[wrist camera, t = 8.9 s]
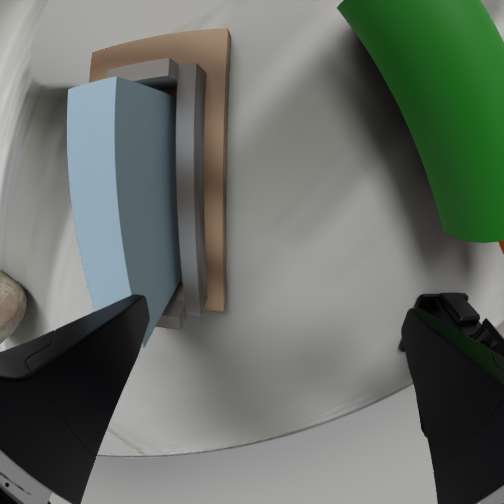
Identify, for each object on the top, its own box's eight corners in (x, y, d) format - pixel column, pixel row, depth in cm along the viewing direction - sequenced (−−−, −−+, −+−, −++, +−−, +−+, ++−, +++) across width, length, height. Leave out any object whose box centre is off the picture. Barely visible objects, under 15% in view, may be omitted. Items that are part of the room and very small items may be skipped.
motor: (319, 27, 13) (430, 263, 20) (381, -42, 4) (502, 317, 11) (412, 4, 12) (494, 207, 18) (481, -30, 3) (561, 236, 10)
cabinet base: (226, 300, 22) (215, 346, 17) (117, 290, 22) (87, 326, 17) (231, 36, 14) (217, 2, 9) (102, 56, 14) (59, 42, 9)
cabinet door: (184, 273, 20) (144, 348, 12) (144, 270, 20) (92, 337, 12) (180, 98, 15) (116, 76, 7) (135, 103, 15) (55, 93, 8)
